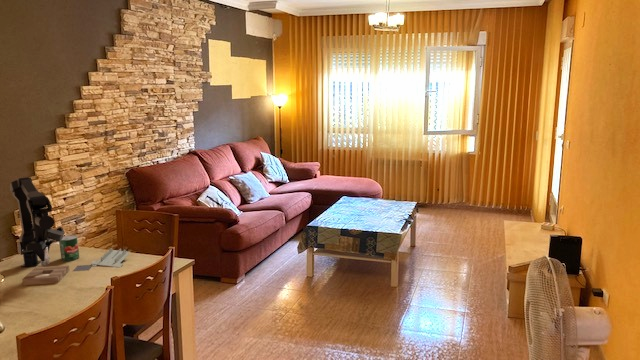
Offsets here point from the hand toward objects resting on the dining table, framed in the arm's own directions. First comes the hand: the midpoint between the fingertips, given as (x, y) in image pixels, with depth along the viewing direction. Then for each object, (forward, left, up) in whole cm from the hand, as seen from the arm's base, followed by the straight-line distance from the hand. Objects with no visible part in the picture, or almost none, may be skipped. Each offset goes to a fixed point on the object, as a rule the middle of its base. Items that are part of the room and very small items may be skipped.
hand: (44, 259), depth 218 cm
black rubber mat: (-9, +12, -9) cm, 18 cm away
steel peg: (0, 0, -2) cm, 2 cm away
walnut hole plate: (0, 0, -9) cm, 9 cm away
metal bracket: (-15, +24, -9) cm, 30 cm away
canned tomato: (-24, +2, -9) cm, 26 cm away
